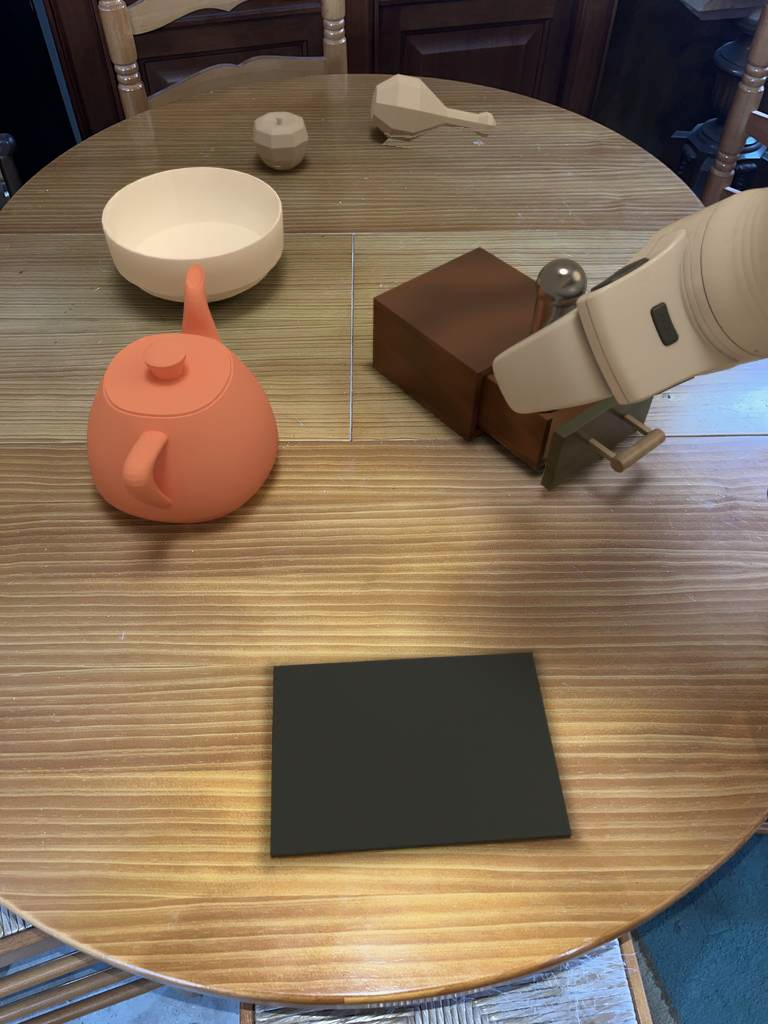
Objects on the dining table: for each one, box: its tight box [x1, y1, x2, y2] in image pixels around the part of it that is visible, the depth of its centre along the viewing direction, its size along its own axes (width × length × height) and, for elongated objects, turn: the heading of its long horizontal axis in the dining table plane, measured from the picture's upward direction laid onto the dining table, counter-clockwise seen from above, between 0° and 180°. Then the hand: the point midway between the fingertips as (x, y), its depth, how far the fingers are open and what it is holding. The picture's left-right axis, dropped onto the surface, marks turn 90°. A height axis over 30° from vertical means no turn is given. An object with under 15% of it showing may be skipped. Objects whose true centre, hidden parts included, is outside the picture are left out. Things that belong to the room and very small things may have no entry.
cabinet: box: [372, 246, 537, 443], centre depth 82 cm, size 15×15×9 cm
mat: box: [269, 651, 573, 859], centre depth 58 cm, size 20×14×1 cm
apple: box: [252, 111, 309, 171], centre depth 112 cm, size 8×8×7 cm
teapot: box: [86, 264, 279, 524], centre depth 72 cm, size 25×17×13 cm
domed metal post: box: [529, 258, 588, 414], centre depth 58 cm, size 4×4×12 cm
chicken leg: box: [370, 73, 497, 143], centre depth 118 cm, size 8×18×8 cm, turn 94°
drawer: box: [476, 371, 667, 492], centre depth 76 cm, size 18×13×7 cm
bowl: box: [101, 166, 284, 304], centre depth 93 cm, size 20×20×8 cm
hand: (556, 344), depth 58 cm, fingers closed on domed metal post, 3 cm apart
